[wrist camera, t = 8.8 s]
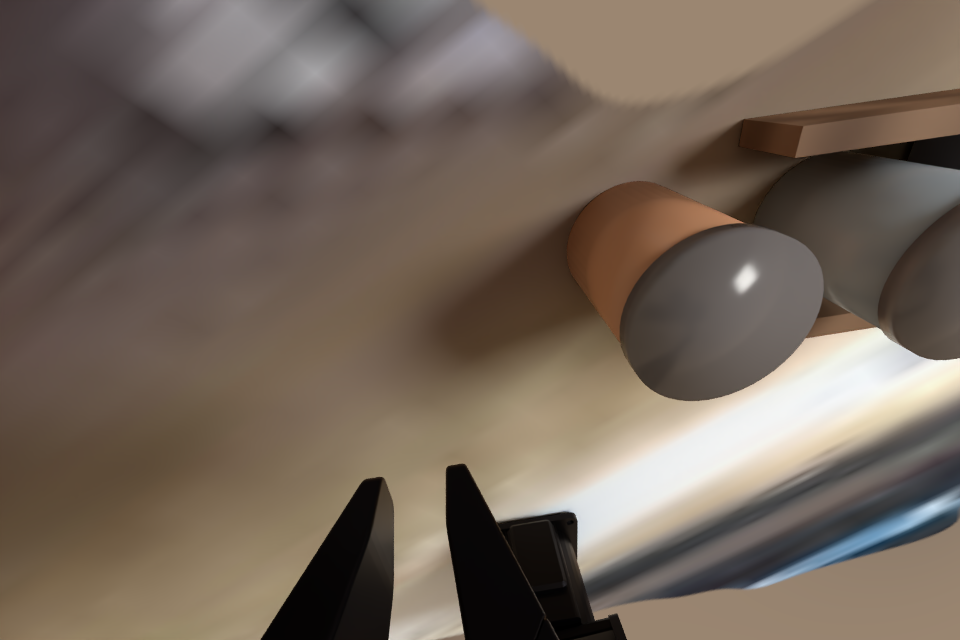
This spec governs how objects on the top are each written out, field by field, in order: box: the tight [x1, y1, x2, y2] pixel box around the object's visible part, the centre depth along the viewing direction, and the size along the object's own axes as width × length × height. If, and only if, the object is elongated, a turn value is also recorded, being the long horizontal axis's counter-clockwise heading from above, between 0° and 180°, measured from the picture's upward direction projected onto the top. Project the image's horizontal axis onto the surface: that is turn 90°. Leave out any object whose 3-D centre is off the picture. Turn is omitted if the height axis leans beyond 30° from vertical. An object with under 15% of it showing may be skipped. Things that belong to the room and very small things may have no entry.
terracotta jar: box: [567, 181, 824, 401], centre depth 15 cm, size 6×6×7 cm
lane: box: [739, 89, 960, 338], centre depth 17 cm, size 17×9×4 cm, turn 97°
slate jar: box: [753, 151, 960, 360], centre depth 15 cm, size 6×6×7 cm
